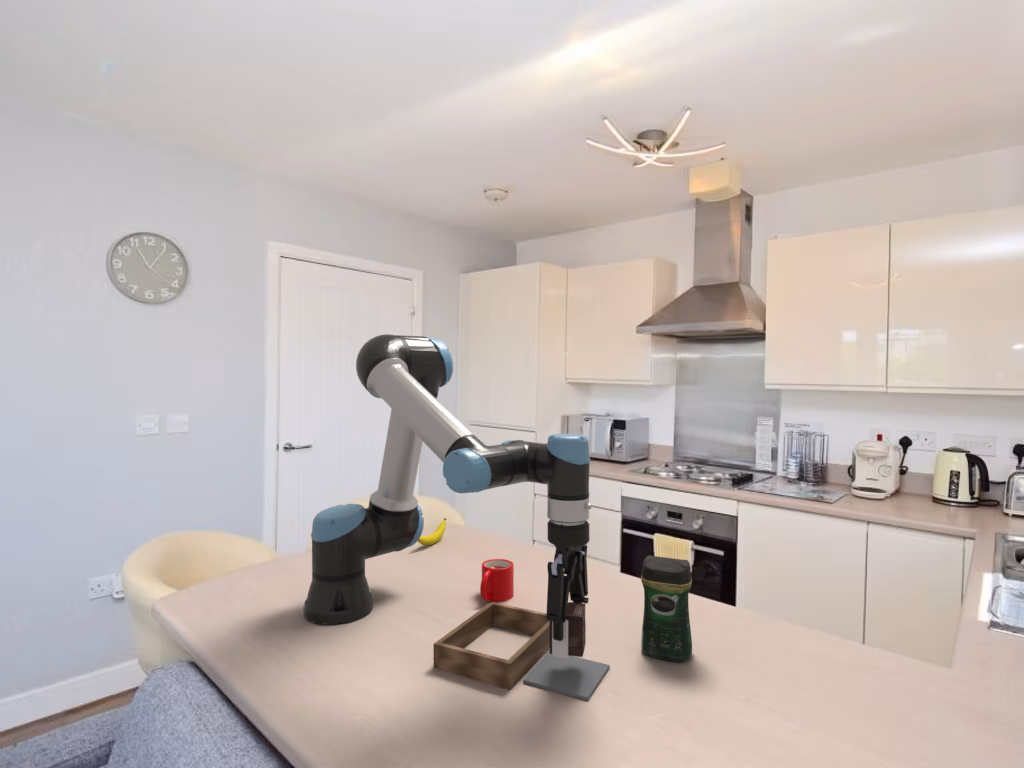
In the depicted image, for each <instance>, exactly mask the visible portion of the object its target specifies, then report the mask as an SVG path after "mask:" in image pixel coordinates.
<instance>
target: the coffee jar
mask: <svg viewBox="0 0 1024 768" xmlns="http://www.w3.org/2000/svg"><path fill="white" fill-rule="evenodd" d="M641 567H642V568H641V576H640V579H641V584H642V588H643V591H644V592H643V593H644V598H643V599H644V603H643V604H644V605H643V616H642V617H643V618H642V628H641V637H640V638H641V640H640V642H641V643H640V645H641V646H640V648H641V651H642V652H643V653H644V654H645V655H647V656H648V657H653V658H656V659H658V660H659V659H660V660H665V661H666V660H667V661H672V662H680V663H682V662H685V661H687V660H688V659H690V658H691V656H692V654H693V638H692V629H691V622H690V611H689V609H690V608H689V593H690V590H691V588H692V584H693V578H692V577H693V576H692V570H691V564H690V561H689V560H688V559H679V558H671V557H665V556H655V555H647V556H646V557H645V559H644V560H643V563H642V566H641Z"/></svg>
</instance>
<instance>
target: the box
mask: <svg viewBox="0 0 1024 768" xmlns="http://www.w3.org/2000/svg"><path fill="white" fill-rule="evenodd" d="M571 602H572V601H568V605H567V614H566V620H568V656H575V657H579V658H583V657H584V652H585V648H586V640H587V638H586V637H587V635H586V603H571ZM548 650H549V651H548V652H549V653H550V654H552V621H549V649H548Z"/></svg>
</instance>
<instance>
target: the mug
mask: <svg viewBox="0 0 1024 768" xmlns="http://www.w3.org/2000/svg"><path fill="white" fill-rule="evenodd" d="M514 567H515V566H514V562H513V561H512V560H509V559H505V558H491V559H487V560H484V561H483V562H482V563H481V581H480V589H479V590H480V591H479V592H480V596H481V598H482V600H483V601H485V602H495V603H500V602H507V601H510V600H512V599H513V598H514V594H515V593H514V584H515V581H514V578H515V576H514V574H515V573H514V572H515V571H514V569H515V568H514Z"/></svg>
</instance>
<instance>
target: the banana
mask: <svg viewBox="0 0 1024 768" xmlns="http://www.w3.org/2000/svg"><path fill="white" fill-rule="evenodd" d="M446 521H447V518H443V520H442V521H441V522H440V523H439V525H438V527H437V528H436V530H435V531H434V532H433V533H431V534H428V535H424V536H423V535H421V536H420V538H419V540H418V541H417V542H418V543H419V544H420V545H422V546H431V545H434V544H436V543H438V542H439V541H441V539H442V538H443V537H444V533H445V530H446V528H447V527H446V526H447V525H446V524H447V522H446Z"/></svg>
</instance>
